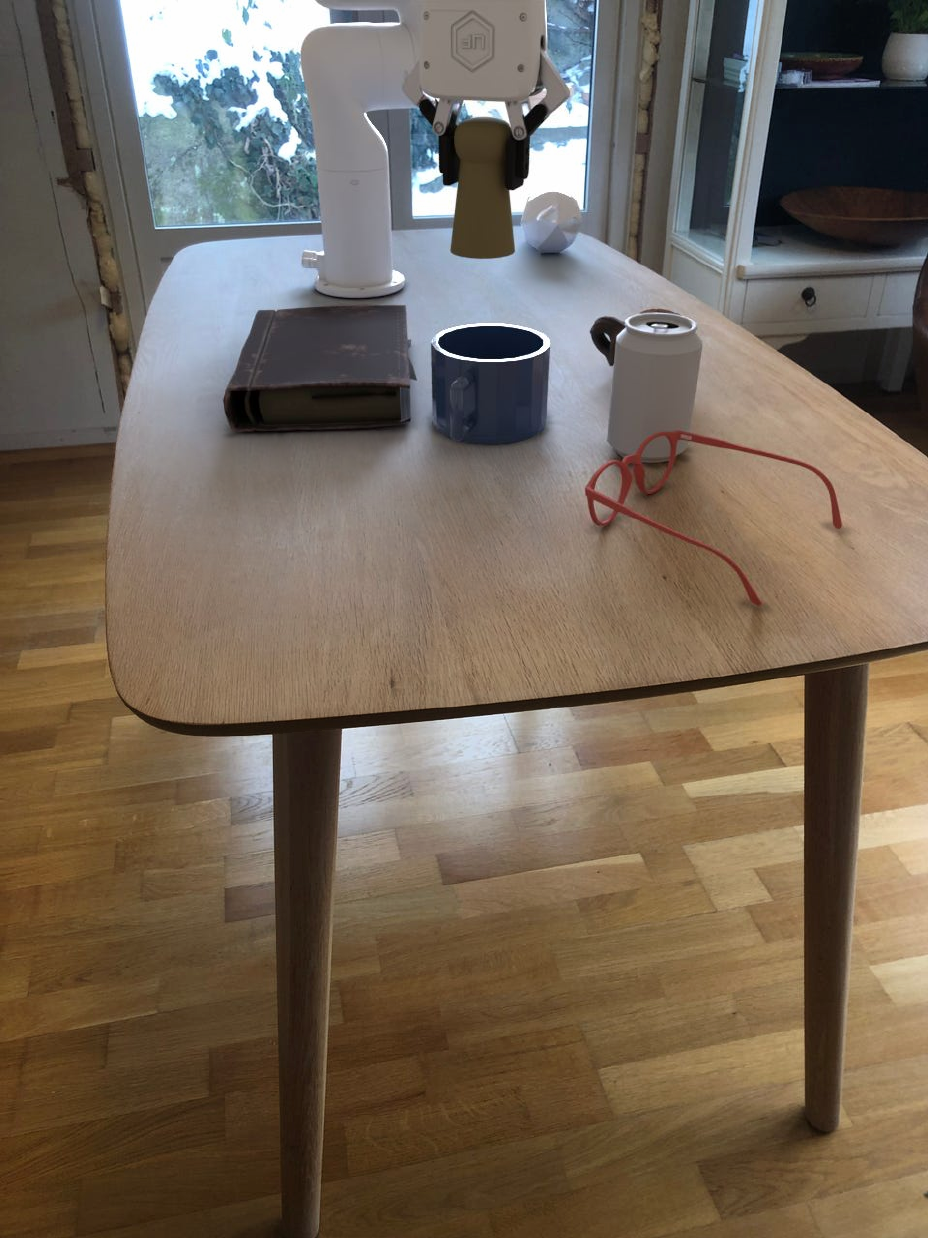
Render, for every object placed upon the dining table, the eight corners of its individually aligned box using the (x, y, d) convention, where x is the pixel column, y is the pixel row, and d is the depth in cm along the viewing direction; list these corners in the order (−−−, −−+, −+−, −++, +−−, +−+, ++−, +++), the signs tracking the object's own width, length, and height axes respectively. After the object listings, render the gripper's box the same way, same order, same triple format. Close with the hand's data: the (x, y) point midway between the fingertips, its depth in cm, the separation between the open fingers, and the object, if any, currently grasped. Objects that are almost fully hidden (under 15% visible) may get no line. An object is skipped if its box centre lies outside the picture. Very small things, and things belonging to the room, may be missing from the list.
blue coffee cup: (458, 394, 101) (457, 318, 96) (560, 409, 97) (564, 330, 93) (399, 448, 89) (395, 364, 85) (512, 467, 86) (515, 381, 81)
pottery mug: (692, 368, 109) (715, 316, 101) (668, 429, 105) (690, 380, 97) (593, 331, 110) (609, 277, 102) (566, 390, 106) (580, 339, 98)
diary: (226, 434, 92) (218, 384, 89) (256, 350, 112) (250, 307, 110) (419, 429, 93) (418, 379, 90) (414, 346, 113) (412, 303, 111)
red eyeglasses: (672, 468, 86) (679, 416, 83) (847, 523, 77) (862, 466, 74) (561, 542, 75) (565, 484, 72) (752, 615, 66) (764, 553, 63)
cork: (516, 243, 91) (520, 113, 84) (513, 259, 86) (517, 122, 80) (453, 242, 91) (452, 112, 85) (446, 257, 86) (445, 121, 80)
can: (692, 439, 91) (710, 312, 84) (680, 471, 85) (699, 338, 78) (614, 429, 93) (626, 304, 86) (598, 460, 87) (609, 329, 80)
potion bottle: (548, 270, 148) (530, 258, 161) (600, 229, 146) (577, 220, 159) (514, 218, 144) (498, 210, 157) (567, 175, 142) (546, 171, 155)
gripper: (367, -65, 75) (378, 186, 85) (577, -67, 70) (563, 200, 80) (406, -63, 81) (413, 172, 91) (603, -65, 75) (587, 184, 86)
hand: (483, 182), depth 85 cm, fingers closed on cork, 5 cm apart
